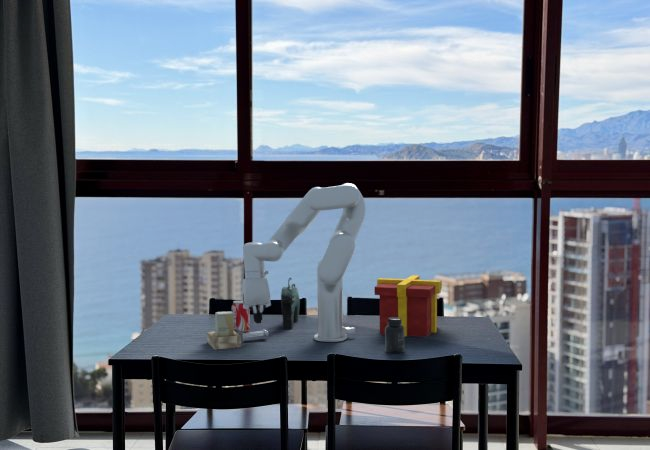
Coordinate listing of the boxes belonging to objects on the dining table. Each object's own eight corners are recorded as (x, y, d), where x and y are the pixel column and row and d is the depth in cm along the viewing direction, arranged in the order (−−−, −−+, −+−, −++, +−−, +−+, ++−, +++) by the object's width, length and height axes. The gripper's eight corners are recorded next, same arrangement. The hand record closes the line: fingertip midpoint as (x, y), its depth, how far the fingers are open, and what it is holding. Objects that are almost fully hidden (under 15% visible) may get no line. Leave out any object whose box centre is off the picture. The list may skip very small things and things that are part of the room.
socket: (233, 340, 327) (233, 330, 326) (241, 347, 315) (241, 336, 315) (207, 342, 323) (207, 332, 323) (214, 349, 312) (214, 338, 312)
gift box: (433, 339, 325) (433, 286, 323) (369, 335, 333) (369, 283, 332) (446, 326, 349) (446, 276, 347) (386, 322, 357) (386, 274, 355)
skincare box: (217, 346, 316) (216, 314, 315) (215, 344, 320) (214, 312, 319) (234, 345, 318) (234, 312, 317) (231, 342, 322) (231, 310, 321)
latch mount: (239, 339, 328) (239, 329, 328) (243, 342, 322) (243, 332, 322) (232, 340, 327) (231, 329, 327) (236, 343, 321) (235, 332, 321)
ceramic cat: (293, 330, 344) (292, 280, 342) (277, 329, 345) (276, 280, 343) (302, 320, 364) (301, 273, 362) (287, 319, 365) (286, 273, 363)
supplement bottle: (403, 349, 310) (403, 316, 309) (405, 353, 303) (405, 320, 302) (384, 349, 309) (384, 316, 308) (386, 354, 303) (386, 320, 302)
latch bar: (266, 334, 330) (266, 328, 330) (269, 335, 327) (269, 330, 327) (238, 337, 327) (238, 332, 326) (241, 339, 323) (240, 334, 323)
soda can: (247, 333, 339) (246, 303, 338) (229, 332, 340) (229, 302, 339) (252, 329, 346) (251, 300, 345) (235, 329, 347) (234, 299, 346)
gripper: (271, 271, 331) (274, 318, 333) (233, 276, 326) (236, 323, 327) (276, 274, 324) (279, 322, 326) (238, 278, 319) (241, 327, 320)
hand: (258, 322), depth 326 cm, fingers closed
